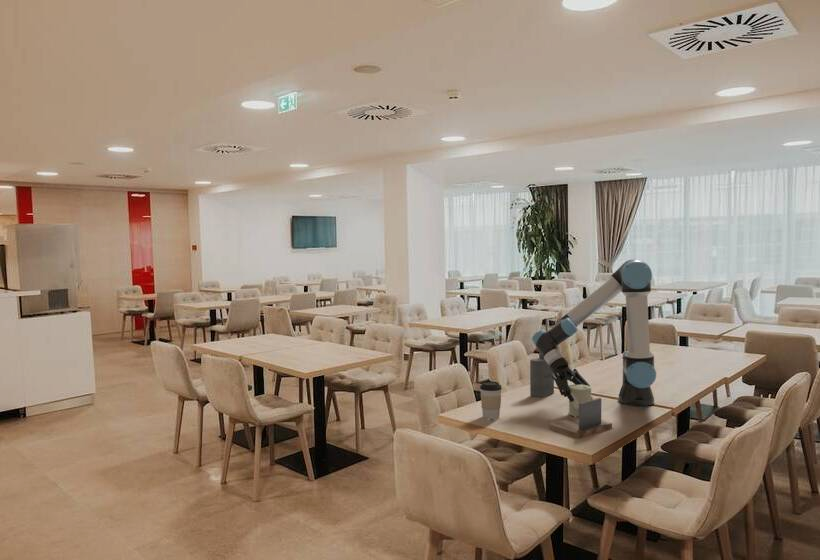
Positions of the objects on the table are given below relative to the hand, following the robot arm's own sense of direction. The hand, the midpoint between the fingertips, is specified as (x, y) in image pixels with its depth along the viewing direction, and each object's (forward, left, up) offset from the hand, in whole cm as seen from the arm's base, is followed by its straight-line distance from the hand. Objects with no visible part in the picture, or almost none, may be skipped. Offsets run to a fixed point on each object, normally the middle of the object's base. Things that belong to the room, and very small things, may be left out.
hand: (586, 405), depth 241 cm
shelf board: (+14, +9, -5) cm, 17 cm away
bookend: (+14, +13, -3) cm, 20 cm away
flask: (-12, -35, -5) cm, 38 cm away
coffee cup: (+32, -23, -5) cm, 40 cm away
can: (0, -3, -5) cm, 6 cm away
